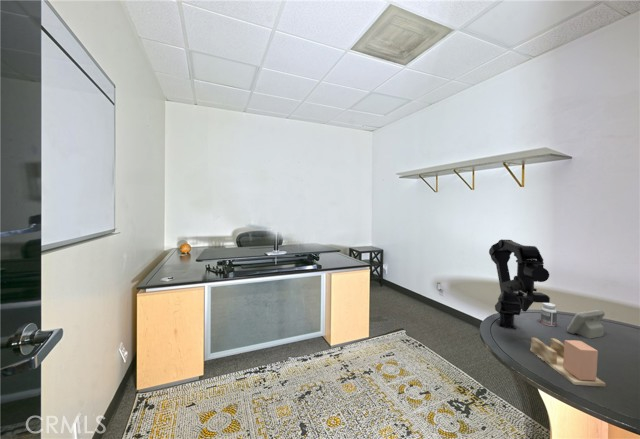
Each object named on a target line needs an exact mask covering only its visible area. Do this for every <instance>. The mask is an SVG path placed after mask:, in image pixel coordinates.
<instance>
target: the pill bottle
mask: <svg viewBox="0 0 640 439" xmlns="http://www.w3.org/2000/svg"><path fill="white" fill-rule="evenodd" d="M556 308H557V307H556V304H554V303H551V302H550V303H542V307H541V308H540V322H541V324H542V325H545V326H550V327H556V326H557V318H558V316H557V314H558V311H557V309H556Z"/></svg>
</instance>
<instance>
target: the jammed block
mask: <svg viewBox="0 0 640 439" xmlns="http://www.w3.org/2000/svg"><path fill="white" fill-rule="evenodd" d="M563 344H564V360H563V368H564V369H566V370H567V371H568V372H570V373H571V374H572V375H574V376H575V377H576V378H578V379H579V380H595V381H596V377H597V373H598V372H597V371H598V370H597V369H598V357H599V356H598V355H599V351H598V350H597V349H595V348H594V347H593V346H590V345H588V344H587V343H585V342H584V341H582V340H574V339H573V340H572V339H570V340H569V339H565V340H564V343H563Z"/></svg>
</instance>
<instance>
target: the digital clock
mask: <svg viewBox="0 0 640 439" xmlns="http://www.w3.org/2000/svg"><path fill="white" fill-rule="evenodd" d="M604 317H605V311H604V310H601V309H595V310H588V311H581V312H577V313H575V315H574V316H573V317H572V319H571V321H570V323H569V324H568V325H567V328H566V332H567V333H569V334H577V335H579V336H582V337H584V338H587V339H589V340H590V339H596V338H600V337H604V335H605V334H604V333H605V326H604V325H603V324H601V321H602V319H603V318H604Z"/></svg>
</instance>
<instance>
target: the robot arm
mask: <svg viewBox="0 0 640 439" xmlns="http://www.w3.org/2000/svg"><path fill="white" fill-rule="evenodd" d="M488 253H489V255H490V258H491V259H490V260H491V261H492V262H493V263H494V264H495V266H496V272H497V278H498V283H499V289H500V294H499V295H498V297H497V302H496V304H494V310H495V311H496V312H497V313H498V314H499V319H497V323H498V326H499V327H502V328H503V327H504V328H509V329H513V330H516V329H517V326H516V325H515V316H520V315H521V312H525V313H526V312H527V311H528V310H529V308H530V307H531V306H532V305H533V303H539V304H540V303H542V304H543V303H551V302H550V299H551V298H550V296H549V295H548V294H546V293H543V292H538V291H537V288H535V283H537V282H538V283H544V282H546V281H547V280H549V278H550V272H549V271H548V270H547V269H546V268H545V266H544V258H543V256H542V254H541V252H540V250H539V249H538V247H537V246H536V245H523V244H522V243H521V244H520V243H519V242H516V241H513V240H512V239H499V240H498V242H496V243H494V244H492V245H491V246H490V248H489V251H488ZM512 254H513V256H514V257H515V258H516V260H515V262H516V263H517V266H516V267H517V269H516V275H514V276H513V279H511V275H510V269H509V265H508V263H509V261H510V259H511V255H512Z"/></svg>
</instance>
